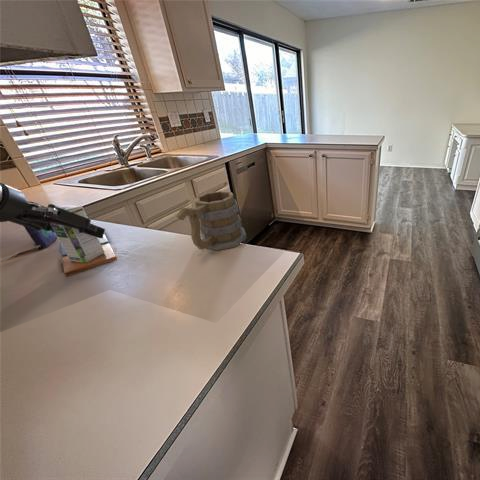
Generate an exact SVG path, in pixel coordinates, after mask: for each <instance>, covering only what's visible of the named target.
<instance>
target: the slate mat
mask: <svg viewBox="0 0 480 480" xmlns="http://www.w3.org/2000/svg"><path fill="white" fill-rule="evenodd" d="M97 238H98V237H97ZM98 240H99V242H100V244H101V246H102V245H105V244H110V242H109V240H108V238H107V236H106V234H105V233H104V235H103V238H98ZM59 245H60V251H61V252H60V253H61V256H62V257H66V256H67V254H66V252H65V250H64V248H63V247H62V245H61V243H60V242H59Z"/></svg>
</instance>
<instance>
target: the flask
mask: <svg viewBox="0 0 480 480" xmlns="http://www.w3.org/2000/svg"><path fill="white" fill-rule="evenodd" d="M44 217H45V216H44ZM23 228H24V230H25V231H26V232H27V234H28V235H29V236H30V238H31V240H32V241H33V242H34V244H35V245H36V246H38V247H37V249H38V250H43V249H46V248H49V247H50V246H51V245H52V244H54V243H55V241H56V240H57V239H58V238H57V236H56V234H55V232H52V230H50V231H45V230H43V229H41V230H39V231H38V230H35V229H31V228H28V227H25V226H23Z"/></svg>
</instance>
